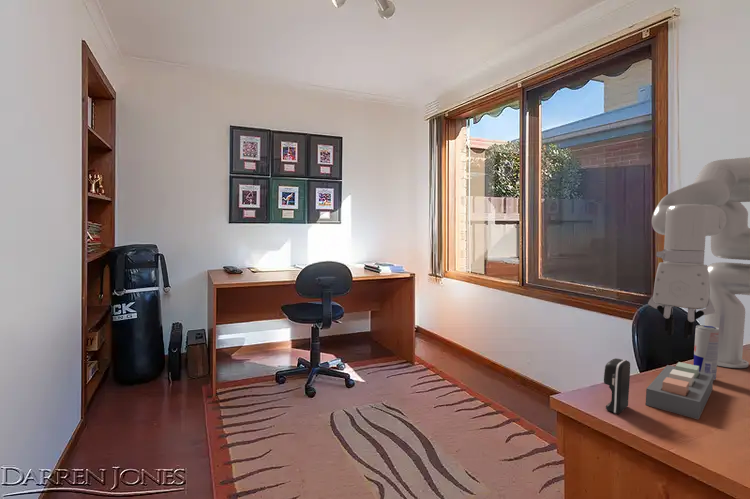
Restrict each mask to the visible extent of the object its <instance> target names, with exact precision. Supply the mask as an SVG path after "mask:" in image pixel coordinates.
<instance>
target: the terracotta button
mask: <svg viewBox="0 0 750 499" xmlns="http://www.w3.org/2000/svg"><path fill="white" fill-rule="evenodd" d="M662 391H667V392H671V393H675V394H679V395H683V396H687V395H688V392H689V382H686V381H682V380H678V379H673V378H669V377H666V378H665V380H664V381H663V385H662Z"/></svg>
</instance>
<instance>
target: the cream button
mask: <svg viewBox="0 0 750 499" xmlns="http://www.w3.org/2000/svg"><path fill="white" fill-rule="evenodd" d="M669 378H673V379H678V380H682V381H686V382H689V386H690V387H693V385H694V373H689V372H684V371H680V370H675V369H673V370H672V371H671V372H670V374H669Z"/></svg>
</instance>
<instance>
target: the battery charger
mask: <svg viewBox="0 0 750 499" xmlns="http://www.w3.org/2000/svg"><path fill="white" fill-rule="evenodd" d="M603 374H604V375H603V383H604V384H605V385H608V388H609V390H610V391H611V398H610V399H611V401H610V402H609V403H608V404H606V406H605V409H606V410H607V411H609V412H611V413H613V414H618V415H619V414H620V413H622V412H623V411H624V410H625V409H627V407H628V406H629V398H630V397H629V394H630V378H631V362H630V361H629V360H626V359H621V358H613V359H611V360H609V361H608V362H607V363H606V364H605V366H604V373H603Z"/></svg>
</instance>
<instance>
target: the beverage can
mask: <svg viewBox="0 0 750 499" xmlns="http://www.w3.org/2000/svg"><path fill="white" fill-rule="evenodd" d="M694 330H695V334H694V346H693V348H694V350H693V364H692V365H696V366H699V372H703V373H708V374H713V381H715V380H716V379H717V369H718V366H717V357H718V342H719V328H717V327H713V326H706V325H705V324H702V325H701V324H697V325H696V326H695V329H694Z"/></svg>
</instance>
